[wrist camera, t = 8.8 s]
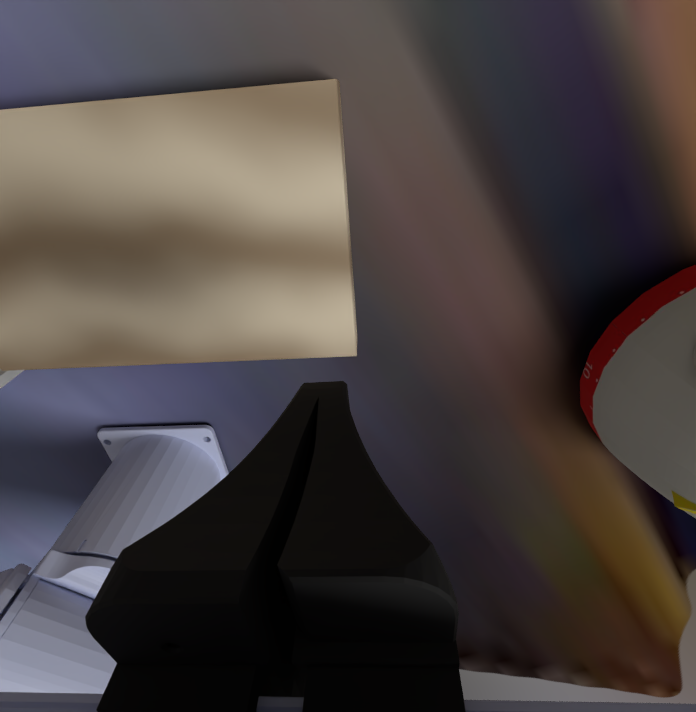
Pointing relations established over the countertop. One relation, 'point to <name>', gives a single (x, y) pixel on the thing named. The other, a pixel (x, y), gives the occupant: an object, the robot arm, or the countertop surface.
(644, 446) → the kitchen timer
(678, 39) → the countertop surface
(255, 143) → the beige flat slab
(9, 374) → the tray
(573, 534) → the countertop surface
